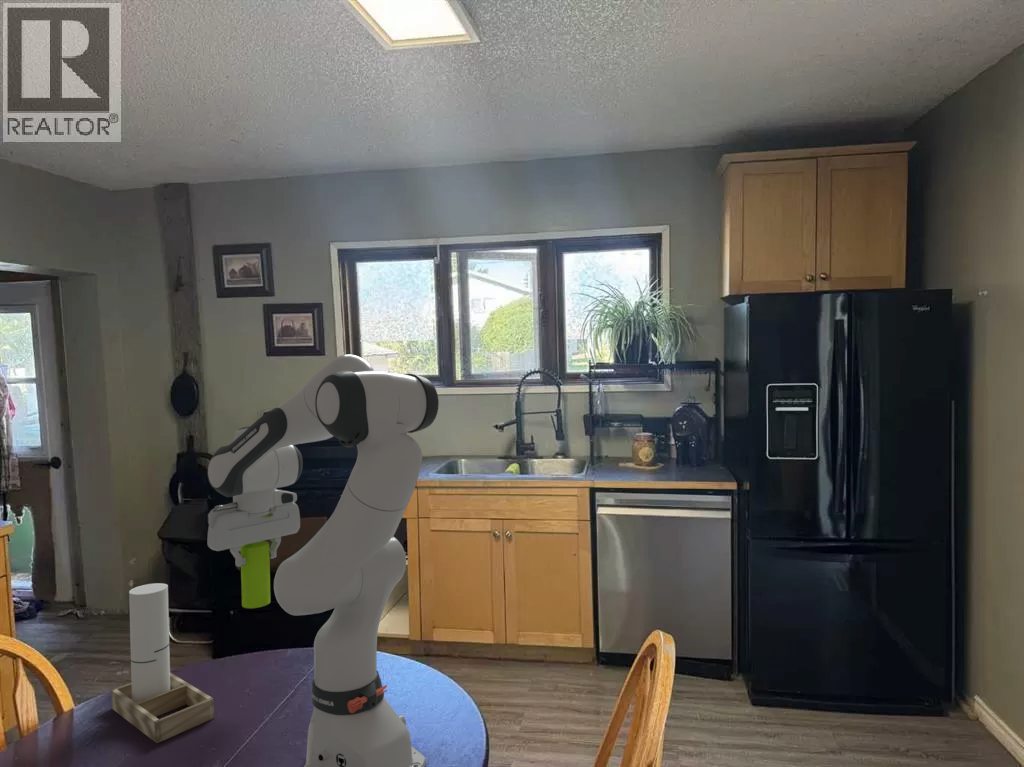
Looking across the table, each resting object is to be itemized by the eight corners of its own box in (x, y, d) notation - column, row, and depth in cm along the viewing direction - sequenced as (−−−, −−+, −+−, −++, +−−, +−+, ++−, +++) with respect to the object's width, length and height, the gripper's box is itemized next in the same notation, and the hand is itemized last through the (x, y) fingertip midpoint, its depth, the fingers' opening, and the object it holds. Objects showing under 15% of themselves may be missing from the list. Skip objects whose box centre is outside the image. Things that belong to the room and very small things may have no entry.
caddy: (214, 718, 130) (213, 698, 130) (156, 743, 121) (156, 722, 121) (166, 687, 143) (166, 670, 143) (111, 708, 134) (111, 689, 134)
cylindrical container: (177, 703, 136) (174, 586, 136) (142, 718, 130) (139, 596, 130) (160, 694, 140) (157, 581, 140) (125, 708, 134) (122, 590, 134)
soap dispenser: (268, 608, 138) (266, 515, 137) (237, 608, 138) (234, 516, 138) (279, 598, 144) (277, 510, 143) (248, 599, 144) (246, 510, 143)
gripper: (215, 508, 130) (217, 576, 130) (303, 493, 146) (304, 553, 146) (200, 505, 134) (202, 571, 134) (287, 490, 150) (289, 549, 150)
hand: (256, 561), depth 140 cm, fingers closed on soap dispenser, 6 cm apart
